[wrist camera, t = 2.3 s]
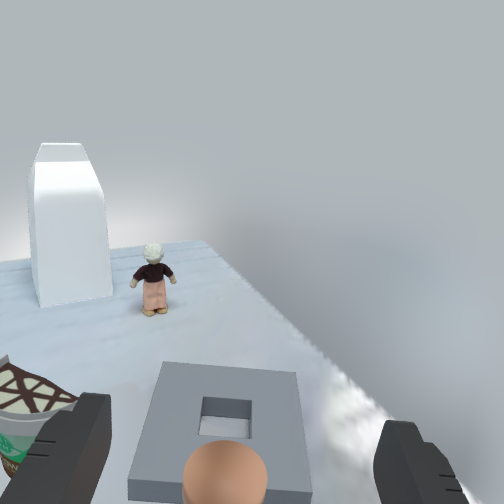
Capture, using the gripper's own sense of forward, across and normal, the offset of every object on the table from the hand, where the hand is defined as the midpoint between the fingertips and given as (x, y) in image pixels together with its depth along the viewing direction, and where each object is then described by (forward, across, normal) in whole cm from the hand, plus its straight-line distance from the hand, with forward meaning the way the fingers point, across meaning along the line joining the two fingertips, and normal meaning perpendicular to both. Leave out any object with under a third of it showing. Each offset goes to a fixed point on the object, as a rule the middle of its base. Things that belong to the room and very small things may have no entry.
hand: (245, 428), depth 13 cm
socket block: (+29, 0, +31) cm, 42 cm away
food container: (+23, +20, +31) cm, 44 cm away
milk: (+61, +30, +31) cm, 75 cm away
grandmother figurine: (+55, +14, +31) cm, 65 cm away
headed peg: (+11, 0, +31) cm, 33 cm away
